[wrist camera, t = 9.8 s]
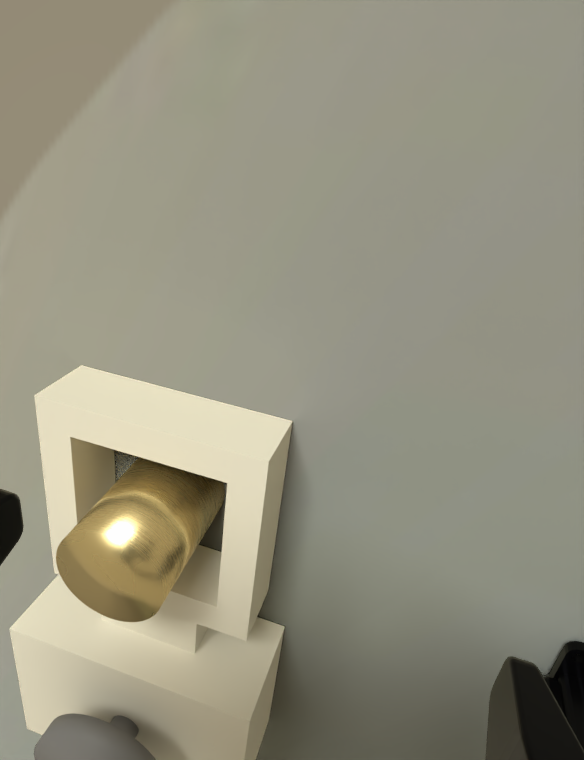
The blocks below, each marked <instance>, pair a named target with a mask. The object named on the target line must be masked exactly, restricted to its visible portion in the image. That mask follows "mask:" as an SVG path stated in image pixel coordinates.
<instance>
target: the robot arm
mask: <svg viewBox="0 0 584 760" xmlns="http://www.w3.org/2000/svg"><path fill="white" fill-rule="evenodd" d="M22 532H23V519H22V512H21V505H20V499H19V497H18V496H17V495H16V494H15V493H12V492H9V491H6V490H2V489H0V565H1V564H2V563H3V561H4V560H5V558H6V557H7V556H8V554H9V553H10V552H11V550H12V549H13V547H14V546H15V545H16V543H17V542H18V540H19V539H20V537H21V535H22ZM577 654H580V655H577ZM486 760H584V643H582V642H577V641H574V642H569V643H567V644H566V645H565V646H564V648H563V650H562V652H561V654H560V655H559V657H558V659H557V661H556V663H555V665H554V667H553V668H552V670H551V672H550V674H549V676H546V677H544V678H543V676H542V674H541V672H540V670H539V669H538V667H537V666H536V665H535V664H533V663H531V662H528V661H525V660H522V659H519V658H516V657H512V656H510V657H508V658H507V659H506V660H505V662H504V664H503V666H502V668H501V670H500V672H499V674H498V676H497V679H496V681H495V683H494V685H493V687H492V691H491V695H490V702H489V716H488V731H487V745H486Z"/></svg>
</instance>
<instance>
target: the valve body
mask: <svg viewBox="0 0 584 760" xmlns="http://www.w3.org/2000/svg"><path fill="white" fill-rule="evenodd" d="M35 404H36V413H37V422H38V431H39V440H40V449H41V458H42V466H43V475H44V484H45V493H46V502H47V511H48V520H49V529H50V538H51V546H52V555H53V564H54V573H56V574H59V571H58V568H57V564H56V552H57V548H58V546H59V544H60V542H61V541H62V540H63V539H64V538H65V537H66V536H67V535H68V534H69V532H70V531H71V530H72V529H73V528H74V527H75V526H76V525H77V524H78V523H79V522H80V521H81V519H82V518H83V517H84V516H85V515H86V514H87V513H88V512H89V511H90V510H91V509H92V508H93V506H94V505H95V504H96V503H97V502H98V501H99V500H100V499H101V498H102V497H103V496H104V495H105V493H106V492H107V491H108V490H109V489H110V488H111V487H112V486H113V485H114V484H115V483H116V481H115V454H114V450H117V451H120V452H124V453H127V454H131V455H134V456H137V457H141V458H144V459H147V460H151V461H154V462H158V463H161V464H164V465H168V466H171V467H175V468H178V469H181V470H185V471H188V472H191V473H195V474H198V475H202V476H205V477H208V478H212V479H215V480H219V481H222V482H225V483H227V493H226V505H225V517H224V529H223V541H222V552H220V551H217V550H214V549H210V548H207V547H204V546H201V545H198V546H197V548H196V549H195V551H194V553H193V554H192V556H191V558H190V559H189V561H188V563H187V564H186V566H185V568H184V569H183V571H182V573H181V574H180V576H179V578H178V579H177V581H176V583H175V584H174V586H173V587H172V589H171V591H170V592H169V594H168V596H167V597H166V599H165V601H164V602H163V604H162V606H161V607H160V609H159V611H158V612H157V613H156V614H155V615H154V616H153V617H151V618H149V619H147V620H144V621H140V622H123V621H118V620H114V619H111V618H108V617H106V616H103V615H101V614H99V613H97V612H96V611H94V610H92V609H91V608H89V607H88V606H86V605H85V604H84V603H82V602H81V601H80V600H79V599H78V598H77V597H76V596H75V595H74V594H73V593H72V592H71V591H70V590H69V588H68V587H67V586H66V584H65V583H64V581H63V580H62V578H61V576H60V574H59V575H58V576H57V577H56V578H55V579H54V580H53V581H52V582H51V583H50V585H49V586H48V587H47V588H46V589H45V590H44V591H43V592H42V593H41V594H40V596H39V597H38V598H37V599H36V600H35V601H34V602H33V603H32V604H31V606H30V607H29V608H28V609H27V610H26V611H25V612H24V613H23V614H22V616H21V617H20V618H19V619H18V620H17V621H16V622H15V623H14V624H13V625H12V627H11V628H10V634H11V640H12V646H13V651H14V657H15V662H16V668H17V674H18V679H19V685H20V691H21V696H22V702H23V708H24V713H25V719H26V724H27V729H29V730H32V731H34V732H36V733H39V734H41V735H42V737H41V738H40V740H39V741H38V742H37V744H36V746H35V749H34V757H35V760H256V757H257V754H258V751H259V748H260V745H261V742H262V739H263V736H264V733H265V730H266V727H267V724H268V721H269V716H270V710H271V704H272V699H273V693H274V687H275V681H276V675H277V669H278V664H279V658H280V652H281V646H282V640H283V634H284V628H285V626H282V625H279V624H276V623H273V622H270V621H267V620H265V619H262V618H259V617H257V616H258V613H259V611H260V609H261V606H262V604H263V602H264V599H265V597H266V595H267V592H268V590H269V583H270V576H271V569H272V562H273V555H274V548H275V541H276V534H277V527H278V520H279V513H280V506H281V499H282V492H283V485H284V478H285V471H286V464H287V457H288V450H289V443H290V436H291V429H292V423H293V421H290V420H287V419H283V418H279V417H275V416H271V415H268V414H264V413H260V412H256V411H252V410H249V409H245V408H241V407H237V406H234V405H230V404H226V403H222V402H218V401H215V400H211V399H207V398H203V397H199V396H196V395H192V394H188V393H184V392H181V391H177V390H173V389H169V388H165V387H162V386H158V385H154V384H150V383H147V382H143V381H139V380H135V379H131V378H128V377H124V376H120V375H116V374H112V373H109V372H105V371H101V370H97V369H94V368H90V367H86V366H82V365H81V366H80V367H78V368H76V369H75V370H73V371H72V372H70V373H69V374H67V375H66V376H64V377H62V378H61V379H59V380H58V381H56V382H55V383H53V384H51V385H50V386H48V387H47V388H45V389H44V390H42V391H40V392H39V393H37V394H36V395H35Z"/></svg>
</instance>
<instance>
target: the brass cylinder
mask: <svg viewBox="0 0 584 760" xmlns="http://www.w3.org/2000/svg"><path fill="white" fill-rule="evenodd" d="M224 496H225V490H224V484H223V482H222V481H219V480H215V479H212V478H208V477H205V476H202V475H198V474H195V473H191V472H188V471H185V470H181V469H178V468H175V467H171V466H168V465H164V464H161V463H158V462H154V461H151V460H147V459H144V458H141V457H139V458H138V459H137V460H136V461H135V462H134V463H133V464H132V465H131V466H130V467H129V469H128V470H127V471H126V472H125V473H124V474H123V475H122V476H121V477H120V478H119V479H118V480H117V482H116V483H115V484H114V485H113V486H112V487H111V488H110V489H109V490H108V491H107V492H106V493H105V495H104V496H103V497H102V498H101V499H100V500H99V501H98V502H97V503H96V504H95V505H94V506H93V508H92V509H91V510H90V511H89V512H88V513H87V514H86V515H85V516H84V517H83V518H82V519H81V521H80V522H79V523H78V524H77V525H76V526H75V527H74V528H73V529H72V530H71V531H70V532H69V534H68V535H67V536H66V537H65V538H64V539H63V540H62V541H61V542H60V544H59V546H58V548H57V552H56V564H57V568H58V571H59V574H60V576H61V578H62V580H63V581H64V583H65V584H66V586H67V587H68V588H69V590H70V591H71V592H72V593H73V594H74V595H75V596H76V597H77V598H78V599H79V600H80V601H81V602H82V603H84V604H85V605H86V606H88V607H89V608H91V609H92V610H94V611H96V612H97V613H99V614H101V615H103V616H106V617H108V618H111V619H114V620H118V621H123V622H140V621H144V620H147V619H149V618H151V617H153V616H154V615H155V614H156V613H157V612H158V611H159V609H160V607H161V606H162V604H163V602H164V601H165V599H166V597H167V596H168V594H169V592H170V591H171V589H172V587H173V586H174V584H175V583H176V581H177V579H178V578H179V576H180V574H181V573H182V571H183V569H184V568H185V566H186V564H187V563H188V561H189V559H190V558H191V556H192V554H193V553H194V551H195V549H196V548H197V546H198V544H199V543H200V541H201V539H202V538H203V536H204V534H205V533H206V531H207V529H208V528H209V526H210V524H211V523H212V521H213V519H214V518H215V516H216V514H217V513H218V511H219V510H220V508H221V506H222V504H223V501H224Z"/></svg>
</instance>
